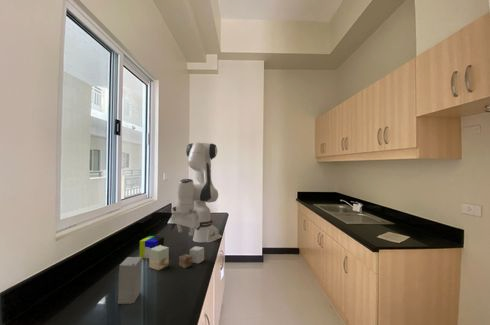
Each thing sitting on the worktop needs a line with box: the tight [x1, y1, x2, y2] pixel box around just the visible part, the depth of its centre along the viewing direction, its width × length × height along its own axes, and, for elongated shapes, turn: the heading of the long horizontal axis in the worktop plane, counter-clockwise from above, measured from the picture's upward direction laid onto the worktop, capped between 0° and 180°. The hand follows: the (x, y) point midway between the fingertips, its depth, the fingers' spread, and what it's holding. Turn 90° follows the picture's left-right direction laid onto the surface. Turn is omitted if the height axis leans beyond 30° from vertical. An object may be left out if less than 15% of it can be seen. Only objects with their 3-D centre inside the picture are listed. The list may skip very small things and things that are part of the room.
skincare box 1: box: [117, 256, 143, 305], centre depth 99 cm, size 8×7×16 cm
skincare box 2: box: [189, 245, 205, 264], centre depth 139 cm, size 6×6×7 cm
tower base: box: [148, 257, 170, 271], centre depth 131 cm, size 7×7×5 cm
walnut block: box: [178, 253, 193, 269], centre depth 133 cm, size 5×5×5 cm
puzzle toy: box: [139, 235, 165, 259], centre depth 148 cm, size 10×10×10 cm
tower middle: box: [148, 245, 170, 261], centre depth 131 cm, size 7×7×5 cm
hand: (185, 233), depth 133 cm, fingers open, 8 cm apart
